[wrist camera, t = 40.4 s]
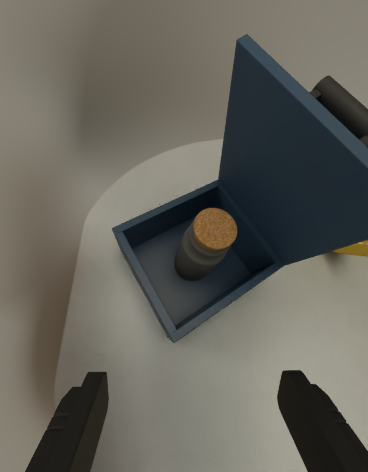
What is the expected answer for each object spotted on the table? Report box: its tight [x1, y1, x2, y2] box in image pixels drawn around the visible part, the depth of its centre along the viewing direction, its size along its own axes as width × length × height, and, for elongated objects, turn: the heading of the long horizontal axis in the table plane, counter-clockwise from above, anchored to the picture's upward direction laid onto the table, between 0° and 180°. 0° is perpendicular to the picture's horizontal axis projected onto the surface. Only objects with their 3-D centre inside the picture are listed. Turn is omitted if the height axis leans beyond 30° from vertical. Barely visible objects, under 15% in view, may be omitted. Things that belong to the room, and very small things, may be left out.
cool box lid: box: [219, 34, 368, 265], centre depth 22 cm, size 19×16×5 cm
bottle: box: [175, 208, 237, 281], centre depth 29 cm, size 6×6×15 cm
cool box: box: [112, 180, 284, 343], centre depth 33 cm, size 18×16×9 cm
